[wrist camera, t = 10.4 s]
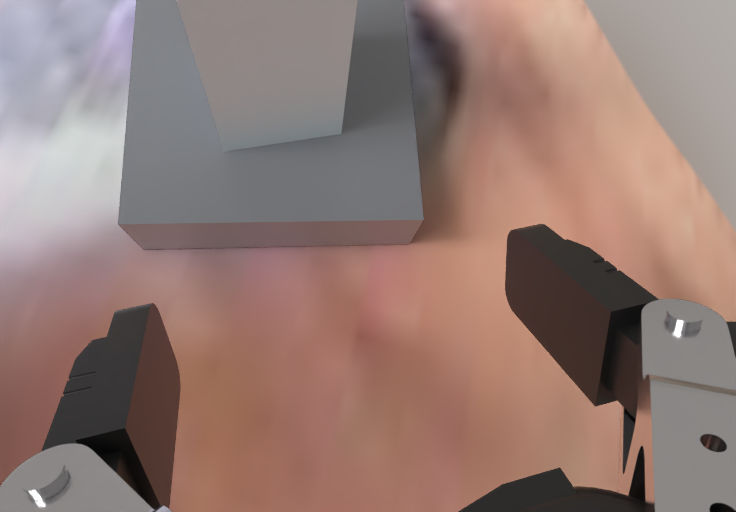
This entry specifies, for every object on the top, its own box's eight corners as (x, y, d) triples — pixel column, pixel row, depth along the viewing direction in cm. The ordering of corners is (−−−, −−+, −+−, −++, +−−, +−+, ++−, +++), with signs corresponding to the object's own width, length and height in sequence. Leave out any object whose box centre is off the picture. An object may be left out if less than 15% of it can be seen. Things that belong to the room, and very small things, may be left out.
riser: (143, 249, 21) (118, 224, 19) (158, 23, 24) (138, -28, 22) (409, 244, 23) (423, 219, 20) (391, 30, 26) (402, -18, 23)
